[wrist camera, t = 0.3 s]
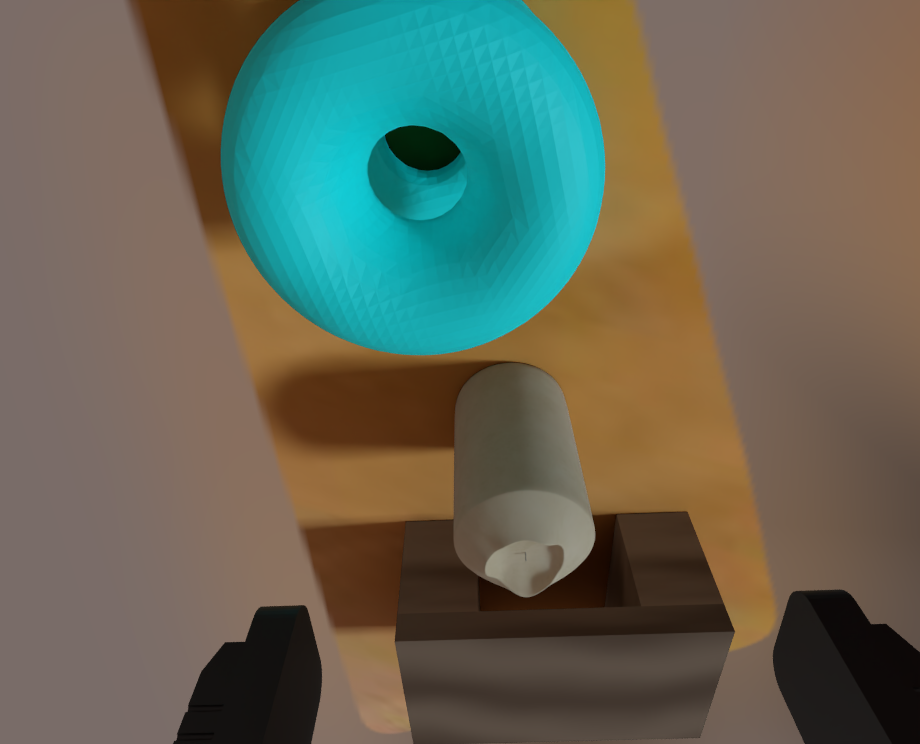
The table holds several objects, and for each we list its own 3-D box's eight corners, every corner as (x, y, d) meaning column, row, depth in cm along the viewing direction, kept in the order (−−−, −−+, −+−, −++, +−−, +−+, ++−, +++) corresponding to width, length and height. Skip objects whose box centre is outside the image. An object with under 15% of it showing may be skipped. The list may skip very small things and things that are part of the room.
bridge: (405, 521, 36) (394, 641, 30) (687, 511, 36) (734, 631, 30) (420, 626, 42) (413, 745, 36) (664, 618, 42) (699, 737, 35)
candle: (560, 447, 33) (594, 616, 25) (455, 448, 33) (454, 617, 25) (569, 359, 30) (611, 519, 22) (453, 361, 30) (451, 520, 22)
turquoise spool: (579, -101, 12) (637, 330, 18) (531, -86, 20) (580, 205, 26) (120, 50, 14) (303, 405, 19) (248, 7, 22) (351, 264, 27)
